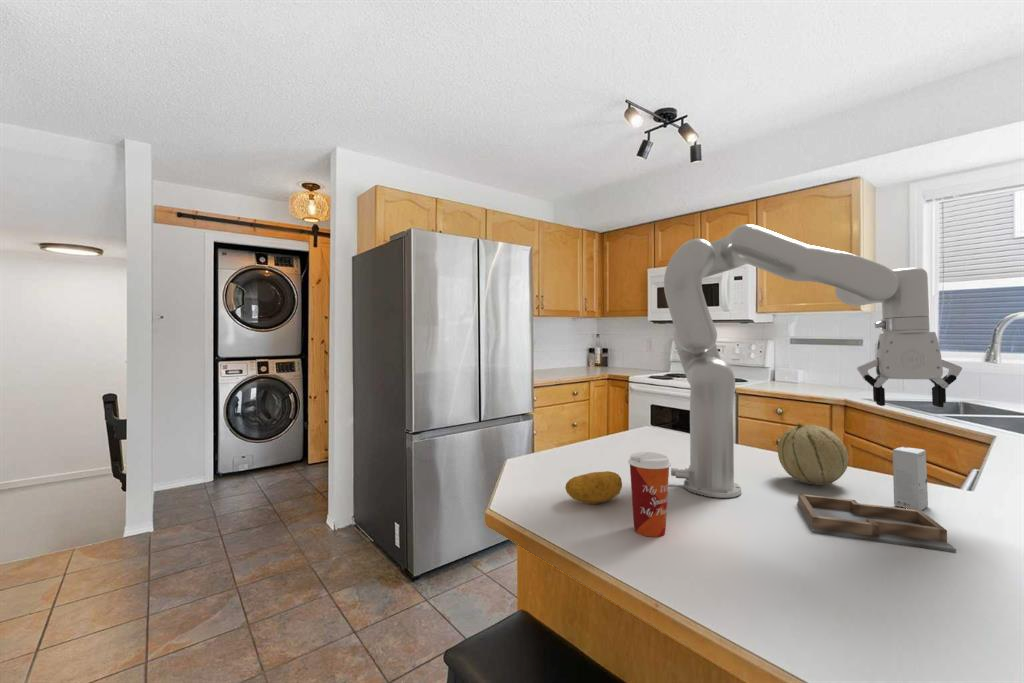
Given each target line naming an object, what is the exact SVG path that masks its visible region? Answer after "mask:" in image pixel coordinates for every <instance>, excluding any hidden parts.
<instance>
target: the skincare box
mask: <svg viewBox="0 0 1024 683" xmlns="http://www.w3.org/2000/svg"><path fill="white" fill-rule="evenodd" d="M927 467H928V466H927V451H926V449H922V448H916V447H909V446H908V447H907V446H901V447H897V448H895V449H892V471H893V472H892V473H893V474H892V477H893V478H892V479H893V480H892V481H893V504H894V506H896V507H897V508H901V507H903V508H904V509H905V508H907V509H913V510H921V511H923V510H924V509H926V508H927V507H928V506H929V496H928V495H929V494H928V491H929V490H928V470H927Z"/></svg>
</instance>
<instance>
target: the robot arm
mask: <svg viewBox="0 0 1024 683" xmlns="http://www.w3.org/2000/svg"><path fill="white" fill-rule="evenodd" d="M744 265H751V266H752V267H755V268H757V269H760V270H763V271H765V272H767V273H770V274H773V275H775V276H777V277H780V278H782V279H785V280H789V281H795V282H811V283H819V284H824V285H827V286H831V287H834V291H835V292H834V293H835V296H836V298H837V299H838V300H839V302H841V303H842V304H845V305H848V306H852V307H853V306H854V307H861V306H866V305H872V304H879V303H881V308H882V309H881V313H882V319H881V321H880V320H879V321H877V322H874V328H875V329H881V331H882V333H879V335H878V340H877V344H876V345H877V346H876V354H875V355H876V356H875V359H872V360H871V361H869V362H867V363H864V364H862V365H858V366H857V368H856V369H857V371H858V373H859V374H860V376H861V377H862V379H863V380H864V381H865V382H866V383H868V384H869V385H870V386H871V387H872V396H873V402H874V403H875V402H876V403H875V404H876V405H877V406H881V407H884V406H886V391H885V387H883V385H884V384H885V383H886V382H887V381H888V380H929V381H930V382H931V383H932V384H933V385H934V386H932V388H931V400H932V401H931V402H932V406H935V407H936V408H944V404H945V403H947V395H946V394H947V393H946V391H947V390H946V389H947V388H949V385H951V384H952V383H953V382H954V383H955V381H956V380H957V377H958V376H959V375H960V373H961V372H962V370H963V367H962V366H960V365H958V364H956V363H955V364H954V363H952V362H950V361H947V360H945V359H942V353H941V347H940V342H939V340H938V335H937V333H936V331H931V330H930V328H931V326H930V306H929V282H928V281H929V280H928V279H929V278H928V272H927V271H926V270H925V269H923V268H922V267H905V268H896V269H890V268H889V267H887V266H885V265H883V264H881V263H878V262H877V261H876V262H875V261H873V260H870V259H868V258H865V257H862V256H859V255H857V254H853V253H849V252H846V251H841V250H835V249H831V248H826V247H821V246H818V245H817V246H816V245H810V244H807V243H804V242H802V241H798V240H797V239H793V238H790V237H787V236H786V235H782V234H780V233H777V232H776V231H775V232H774V231H772V230H769V229H768V228H767V229H766V228H764V227H761V226H759V225H755V224H750V223H744V224H741V225H737V226H735V228H734V229H732V230H731V231H730V232H729V233H728V234H727V236H725V237H721V238H719V239H717V240H714V241H711V242H709V241H708V240H706V239H704V238H693V239H689V240H688V241H685V242H684V243H683V244H682V245H681V246H679V248H678V249H677V250H676V251H675V252H674V253H673V254H672V256H671V257H670V259H669V260H668V263H667V266H666V267H665V268H666V269H665V273H664V277H663V289H664V295H665V299H666V300H665V301H666V303H667V307H668V311H669V314H670V317H671V321H672V324H673V327H674V331H673V340H674V344H675V348H676V351H677V354H678V356H679V359H680V363H681V366H682V369H683V372H684V374H685V378H686V380H687V382H688V384H689V387H690V390H689V391H690V392H689V393H690V395H689V433H690V434H689V439H690V440H689V452H690V453H689V455H690V456H689V457H690V458H689V459H690V465H688V466H689V467H687V468H686V467H685V468H684V469H683V468H675V467H671V468H670V471H671V472H670V476H672V477H675V479H684V481H683V488H684V489H685V490H687V489H688V490H687V491H688V492H690V491H691V493H693V492H694V493H693V494H696V493H697V494H696V495H699V494H700V495H699V496H703V495H704V496H705V497H709V498H718V499H721V498H723V499H724V498H726V499H727V498H736V497H738V496H740V495H741V494H742V487H741V486H740V485H739V484H738V483H736V482H735V472H734V471H735V470H734V469H735V468H734V467H735V461H734V460H735V459H734V458H735V456H734V455H735V452H734V450H735V449H734V448H735V446H734V445H735V444H734V442H735V441H734V429H735V428H734V403H735V393H736V378H735V374H734V371H733V369H732V367H731V366H730V365H729V364H728V363H727V362H725V360H723V359H721V355H720V352H719V349H718V347H717V344H716V342H717V340H718V332H717V328H716V326H715V323H714V321H713V319H712V316H711V314H710V310H709V308H708V307H709V306H708V305H707V301H706V298H705V294H704V292H703V286H702V285H703V283H702V282H703V279H705V278H709V277H711V276H714V275H718V274H721V273H725V272H728V271H731V270H734V269H736V268H740V267H742V266H744ZM873 368H875V373H876V377H875V378H874V377H872V375H870V373H869V370H871V369H873ZM943 368H945V369H946V370H947V369H948V372H947V374H946V375H945V376H944V377H943V375H944V374H943V373H944V371H943V370H944V369H943Z"/></svg>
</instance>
